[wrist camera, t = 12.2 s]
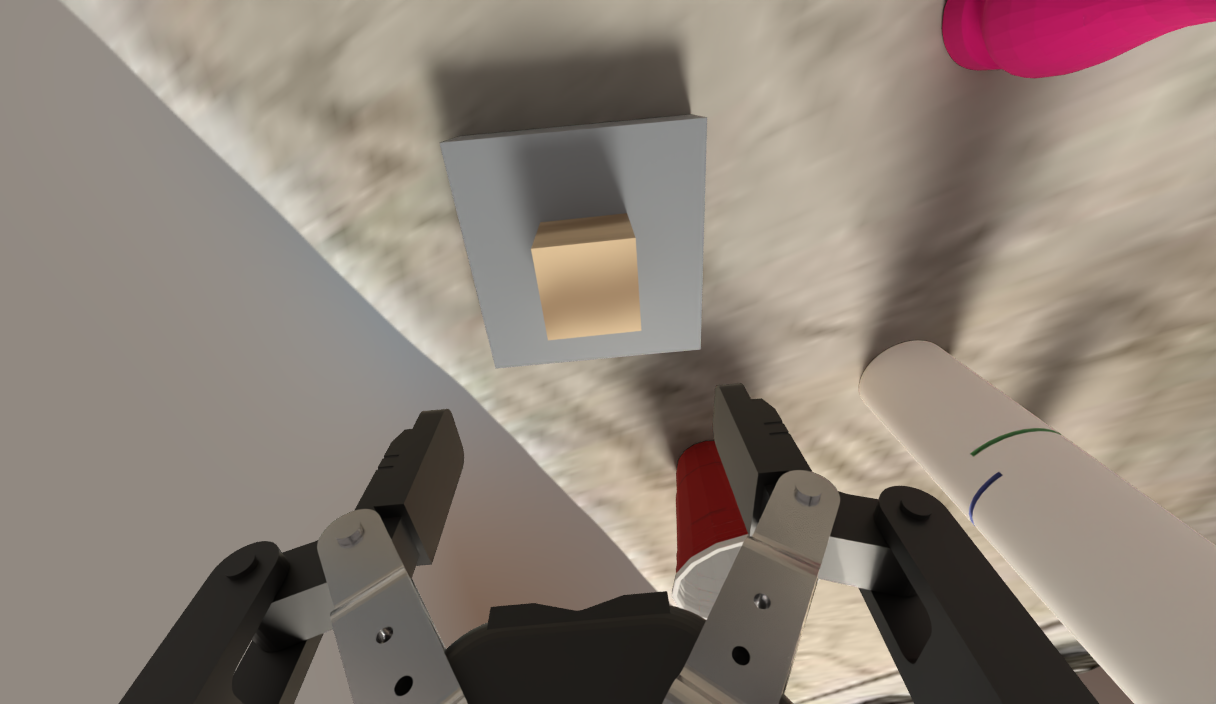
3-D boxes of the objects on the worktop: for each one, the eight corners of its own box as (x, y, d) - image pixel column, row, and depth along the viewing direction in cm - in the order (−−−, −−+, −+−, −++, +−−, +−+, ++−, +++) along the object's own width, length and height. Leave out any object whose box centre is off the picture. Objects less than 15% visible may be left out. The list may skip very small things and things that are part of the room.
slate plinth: (458, 136, 27) (439, 142, 23) (691, 114, 27) (707, 117, 23) (504, 340, 34) (495, 368, 30) (688, 323, 34) (700, 349, 30)
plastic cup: (682, 519, 45) (712, 647, 35) (628, 453, 40) (643, 579, 30) (783, 476, 42) (848, 599, 32) (739, 399, 38) (797, 516, 27)
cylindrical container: (842, 400, 38) (1177, 802, 16) (894, 329, 35) (1400, 717, 13) (908, 419, 40) (1297, 813, 18) (965, 354, 36) (1525, 739, 15)
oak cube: (540, 222, 25) (531, 248, 21) (627, 213, 25) (635, 237, 21) (553, 302, 28) (547, 340, 24) (632, 294, 28) (641, 330, 24)
